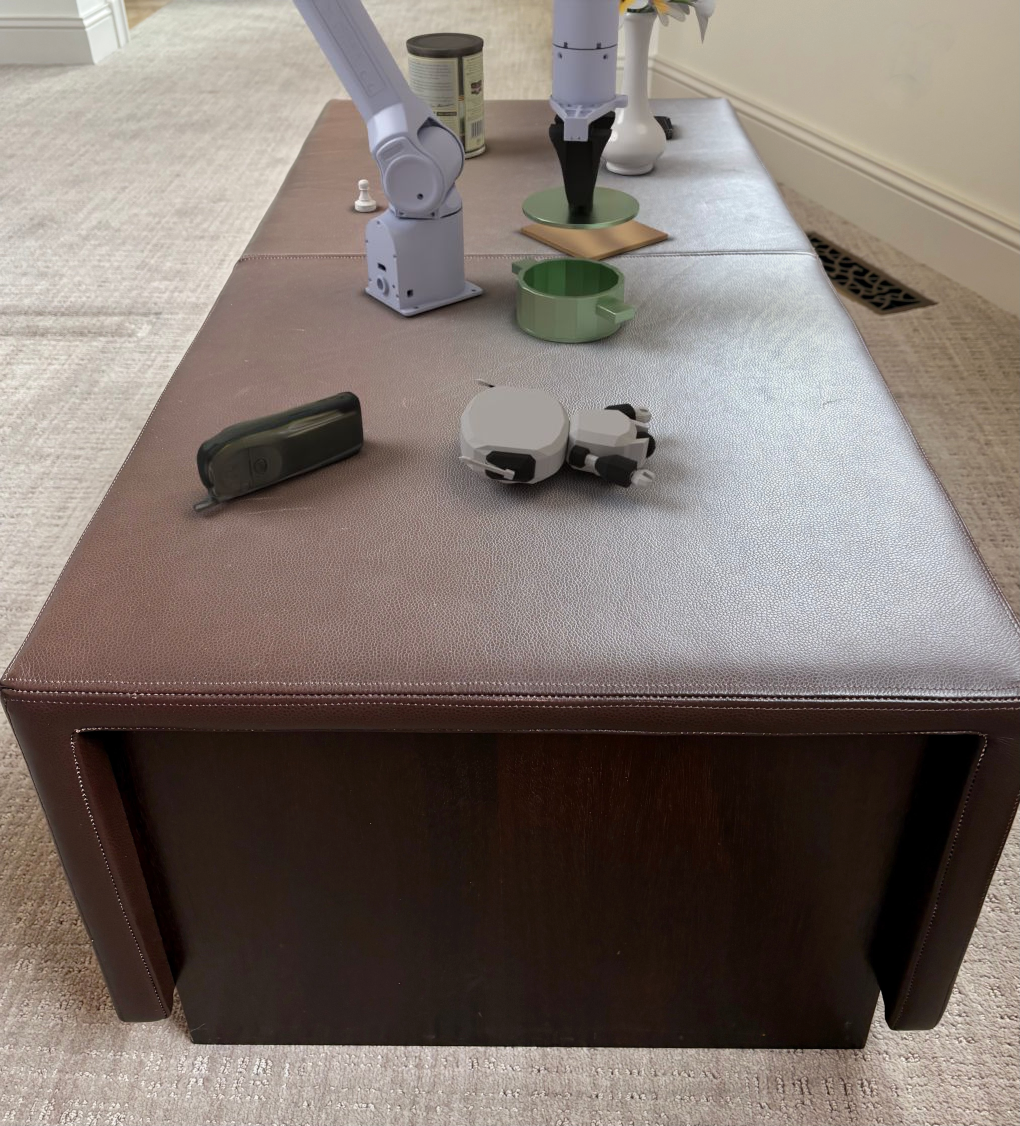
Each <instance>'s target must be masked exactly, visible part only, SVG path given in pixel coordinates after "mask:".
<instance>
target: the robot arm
mask: <svg viewBox="0 0 1020 1126" xmlns="http://www.w3.org/2000/svg"><path fill="white" fill-rule="evenodd" d="M291 1H292V2H293V4H294V6H295V8H296V10H297V11H298V13H299V15H300V16H301V18H302V19H303V21H304V23H305V24H306V26H307V28H308V29H309V31H310V33H311V34H312V36H313V37H314V39H315V41H316V43H317V44H318V46H319V47H320V49H321V50H322V52H323V54H324V56H325V57H326V59H327V61H328V62H329V64H330V66H331V68H332V69H333V71H334V72H335V74H336V76H337V77H338V79H339V81H340V82H341V84H342V86H343V87H344V89H345V91H346V93H347V94H348V96H349V97H350V99H351V101H352V102H353V104H354V106H355V108H356V109H357V110H358V113H359V114H360V116H361V117H362V119H363V120H364V123H365V125H366V130H367V137H368V146H369V153H370V155H371V157H372V159H373V160H374V162H375V164H376V165H377V168H378V171H379V173H380V174H379V175H380V184H381V189H382V192H383V195H384V196H385V198H386V200H387V201H388V208H387V209H386V210H385V211H383V213H382V214H380V215H378V216H376V217H373V218H371V219H369V220H368V222H367V223H366V226H365V231H364V244H365V256H366V267H367V268H366V269H367V278H368V279H367V280H368V286H366V287H365V292H366V294H368V295H370V296H372V297H373V298H375V299H376V300H378V301H379V302H381V303H383V304H384V305H386V306H387V307H389V308H391V309H392V310H394V311H396V312H398V313H400V314H401V315H403V316H405V317H412V316H414V315H417V314H419V313H420V314H421V313H424V312H427V311H430V310H434V309H436V308H440V307H443V306H446V305H450V304H454V303H457V302H460V301H464V300H466V299H469V298H473V297H476V296H479V295H482V294H483V289H482V287H480V286H479V285H476V284H474V283H472V282H470V281H469V280H467V279H466V273H465V271H466V269H465V242H464V241H465V240H464V239H465V237H464V206H463V203H464V201H463V197H462V196H461V194H460V193H459V190H458V188H457V186H456V181H457V180H458V179H459V177H460V176H461V175H462V173H463V171H464V167H465V162H466V159H465V152H464V148H463V145H462V143H461V141H460V139H459V137H458V136H457V135H456V134H455V133H454V132H453V131H452V130H451V129H450V128H448V127H447V126H445V125H444V124H443V123H442V122H440V121H439V119H438V118H437V117H436V115H435V114H434V112H433V110H432V109H431V107H430V106H429V105H428V104H427V103H426V102H425V101H423V100H422V99H421V98H419V97H418V96H417V95H415V94H414V93H413V92H412V90H411V88H410V84H409V82H408V81H407V79H406V78H405V75H404V73H403V72H402V71H401V69H400V66H399V65H398V64H397V61H396V60H395V58H394V57H393V55H392V53H391V51H390V49H389V47H388V45H387V44H386V42H385V41H384V39H383V37H382V35H381V34H380V32H379V30H378V29H377V27H376V24H375V23H374V21H373V20H372V18H371V16H370V14H369V13H368V11H367V9H366V8H365V5H364V4H363V2H362V0H291ZM619 6H620V0H553V1H552V57H551V58H552V60H551V61H552V65H551V66H552V67H551V68H552V69H551V70H552V71H551V78H552V79H551V80H552V81H551V94H550V96H549V106H550V108H551V109H552V111H554V112H555V113H556V114H555V116H554V118H553V120H554V123H550V124H549V128H548V136H549V140H550V142H551V145H553V148H554V150H555V152H556V154H557V158H558V161H559V165H560V169H561V173H562V174H561V175H562V179H563V186H564V187H565V193H566V197H567V201H568V204H569V205H590V203H591V200H592V196H593V192H594V188H595V186H596V185H597V179H598V175H599V171H600V170H599V168H600V164H601V159H602V157H601V155H602V153H603V151H604V148H605V146H606V144H607V142H608V140H609V138H610V136H611V134H612V129H611V127H612V125H613V123H614V122H615V117H616V113H615V112H614V110H615V109H616V108H625V107H627V106H628V95H620V94H621V93H620V94H618V93H617V92H616V90H617V89H616V88H617V66H618V49H619V47H618V45H619V43H618V42H619V30H618V28H619Z"/></svg>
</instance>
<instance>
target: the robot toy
mask: <svg viewBox="0 0 1020 1126" xmlns="http://www.w3.org/2000/svg"><path fill="white" fill-rule="evenodd" d="M474 381H475V382H476V384H477V385H479V386H482V387H487V389H483V390H482V391H480V392H479V393H478V394H476V395H475V396H474V397H473V398H471V399H470V401H469V402H468V403H467V405H466V407H465V408H464V410H463V412H462V414H461V416H460V427H459V428H460V429H459V443H460V453H461V456H458V457H457V458H458V459H459V461H460V462H461V463H463V464H466V465H467V466H468V467H469V469H470V470H472V471H473V472H474V473H476V474H477V475H479V477H480V476H481V478H483V479H485V480H493V481H497V482H501V483H502V484H517V483H523V484H535V483H537V482H540V481H543V480H545V479H547V478H549V477H551V476H553V475H554V474H555V473H557V472H558V471H559V470H560V469H561V467H562V465H563V464H564V462H565V460H566V462H567V463H568V465H569V466H570V467H571V468H572V469H574V470H578V471H583V472H587V473H593V474H594V475H595V476H596V477H601V478H602V479H603V480H604V481H605V482H607V483H610V484H613V485H616V486H618V487H621V488H623V489H628V488H629V487H630V486H632V485H634V486H635V488H638V489H645V490H647V489H649V488H651V487H652V485H653V484H654V483H655V482H656V475H655V473H654V472H652V471H650V470H649V469H641V468H643V466H644V465H645V464H646V459H648V458H650V457H651V456H652V455H653V454H654V453H655V451H656V448H657V445H656V443H657V442H656V440H655V438H654V436H653V435H651V433H649V426H647V425H646V424H647V423H649V422H650V421H651V420H652V416H653V415H652V413H651V412H649V409H647V408H646V407H644V406H634V407H633V406H632V404H630V403H619V404H612V405H607V406H606V407H605V408H603V409H599V408H598V409H597V408H596V409H595V408H592V409H591V408H588V409H585V408H584V409H578V410H577V411H575V412H574V413H571V415H570V417H569V414H568V411H567V410H566V407H565V406H564V405H563V403H562V402H561V401H560V400H559V399H558V398H557V397H555V396H554V395H553V394H550V393H549V392H547V391H546V390H544V389H539V388H529V387H521V386H519V387H518V386H508V385H499V384H498V385H497V384H494V383H491V382H488V381H487V380H485V379H482V378H477V379H474Z"/></svg>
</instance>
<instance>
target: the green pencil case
mask: <svg viewBox="0 0 1020 1126" xmlns="http://www.w3.org/2000/svg"><path fill="white" fill-rule="evenodd" d="M361 405H362V404H361V401H360V398H359V397H358V396H357V394H355V393H354V392H351V391H342V392H339V393H336V394H333V395H331V396H327V397H324V398H321V399H317V400H314V401H310V402H305V403H302V404H299V405H296V406H294V407H291V408H288V409H285V410H282V411H278V412H276V413H271V414H267V415H263V416H260V417H256V418H253V419H250V420H243V421H240V422H238V423H234V424H232V425H229V426H227V427H224V428H223V429H222V430H221V431H220V432H218V433H216V434H214V435H213V436H211V437H210V438H207V439H206V440H204V441H203V442H202V443H201V444H200V445H199V448H198V450H197V453H196V466H197V470H198V475H199V478H200V479H199V480H200V481H201V484H202V485H203V486H204V487H205V488H206V490H207V493H208V494H207V495H208V496H207V497H206V498H205V499H203V500H201V501H199V502H197V503H194V504H193V506H192V507H193V510H194V511H195V513H200V512H203V511H205V510H207V509H210V508H212V507H215V506H217V505H220V504H222V503H224V502H227V501H229V500H232V499H234V498H237V497H240V496H244V495H246V494H249V493H251V492H254V491H257V490H260V489H263V488H266V487H269V486H272V485H274V484H277V483H279V482H281V481H284V480H286V479H289V478H293V477H295V476H298V475H302V474H306V473H307V472H311V471H313V470H316V469H319V468H321V467H324V466H326V465H327V466H328V465H329V464H332V463H335V462H337V461H341V460H343V459H346V458H350V457H351V456H353V455H354V454H355V453H357V452H359V451H360V450H361V449H362V448H363V446H364V443H365V439H364V436H365V435H364V424H363V413H362V406H361Z"/></svg>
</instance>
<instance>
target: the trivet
mask: <svg viewBox="0 0 1020 1126" xmlns="http://www.w3.org/2000/svg"><path fill="white" fill-rule="evenodd" d="M520 233H522V234H523V235H526V236H528V237H530V238H532V239H534V240H536V241H538V242H541V243H543V244H545V245H548V246H550V247H552V248H554V249H557V250H559V251H560V252H562V253H565V254H566V255H569V256H570V257H574V258H588V259H592V260H597V261H601V260H603V259H607V258H611V257H614V256H616V255H621V254H623V253H626V252H630V251H633V250H636V249H640V248H643V247H647V246H650V245H652V244H656V243H659V242H662V241H666V240H668V238H669V234H668V233H666V232H663V231H661V230H658V229H657V228H654V227H652V226H649V225H646V224H644V223H642V222H639V221H636V220H634V219H632V220H631V221H629V222H626V223H624V224H621V225H617V226H613V227H608V228H601V229H590V230H574V229H562V228H555V227H550V226H546V225H542V224H539V223H537V222H535V223H533V224H529V225H526V226H522V227H520Z"/></svg>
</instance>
